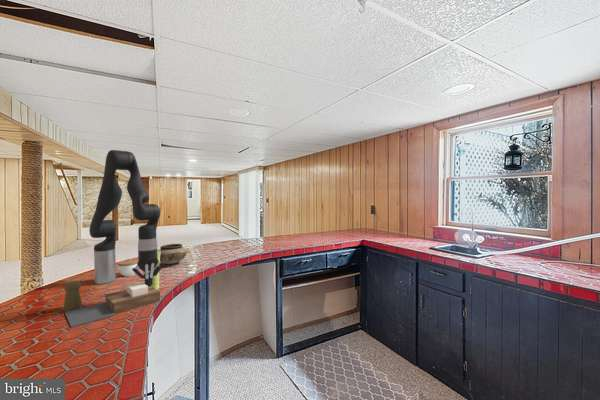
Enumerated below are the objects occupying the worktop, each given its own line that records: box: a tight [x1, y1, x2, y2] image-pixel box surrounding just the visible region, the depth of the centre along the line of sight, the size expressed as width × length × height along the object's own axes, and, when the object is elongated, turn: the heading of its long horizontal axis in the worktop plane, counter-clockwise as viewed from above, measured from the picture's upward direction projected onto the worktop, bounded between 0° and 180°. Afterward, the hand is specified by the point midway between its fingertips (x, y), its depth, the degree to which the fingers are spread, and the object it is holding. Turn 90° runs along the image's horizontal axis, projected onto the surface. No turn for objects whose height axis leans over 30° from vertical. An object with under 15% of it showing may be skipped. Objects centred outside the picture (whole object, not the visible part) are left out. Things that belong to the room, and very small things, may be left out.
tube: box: [151, 250, 161, 290], centre depth 130 cm, size 6×5×20 cm
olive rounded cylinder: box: [62, 280, 83, 312], centre depth 109 cm, size 6×6×11 cm
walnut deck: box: [104, 286, 161, 315], centre depth 114 cm, size 14×17×4 cm
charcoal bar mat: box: [64, 301, 116, 329], centre depth 103 cm, size 17×13×1 cm
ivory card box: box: [125, 281, 148, 297], centre depth 116 cm, size 9×6×3 cm, turn 47°
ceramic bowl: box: [157, 243, 192, 267], centre depth 175 cm, size 24×18×15 cm
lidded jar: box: [116, 258, 138, 277], centre depth 153 cm, size 11×11×9 cm
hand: (148, 286), depth 119 cm, fingers closed
